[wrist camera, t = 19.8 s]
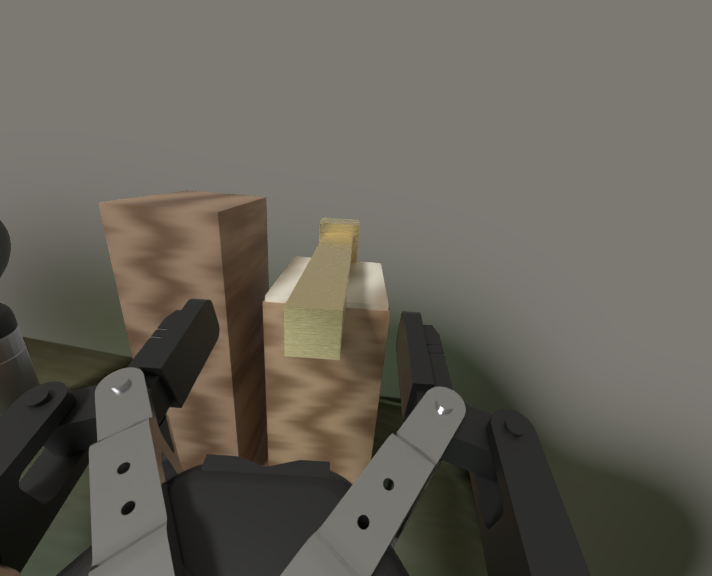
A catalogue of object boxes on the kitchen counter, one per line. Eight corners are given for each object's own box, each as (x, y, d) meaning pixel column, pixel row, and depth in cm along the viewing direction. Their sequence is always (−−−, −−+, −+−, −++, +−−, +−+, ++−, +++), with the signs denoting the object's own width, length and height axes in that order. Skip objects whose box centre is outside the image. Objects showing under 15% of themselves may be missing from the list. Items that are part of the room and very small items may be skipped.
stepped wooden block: (159, 495, 39) (92, 201, 26) (210, 413, 52) (182, 190, 39) (364, 510, 39) (401, 226, 26) (364, 424, 52) (388, 207, 39)
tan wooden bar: (273, 355, 20) (272, 283, 18) (322, 252, 44) (323, 217, 43) (350, 361, 20) (356, 290, 18) (356, 255, 44) (359, 220, 43)
